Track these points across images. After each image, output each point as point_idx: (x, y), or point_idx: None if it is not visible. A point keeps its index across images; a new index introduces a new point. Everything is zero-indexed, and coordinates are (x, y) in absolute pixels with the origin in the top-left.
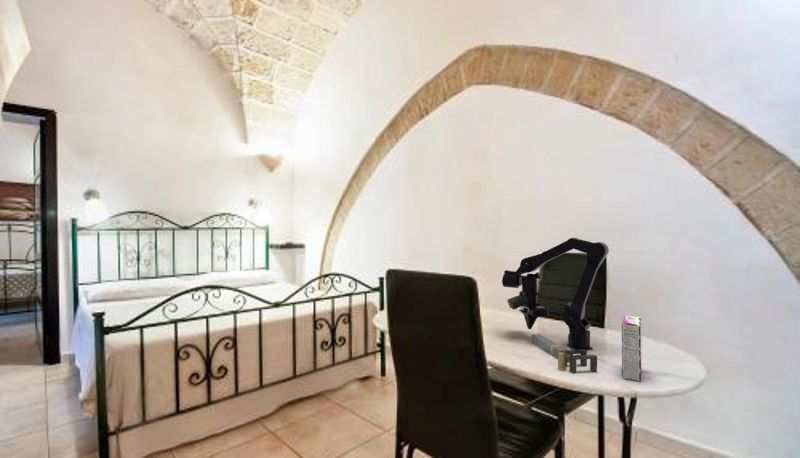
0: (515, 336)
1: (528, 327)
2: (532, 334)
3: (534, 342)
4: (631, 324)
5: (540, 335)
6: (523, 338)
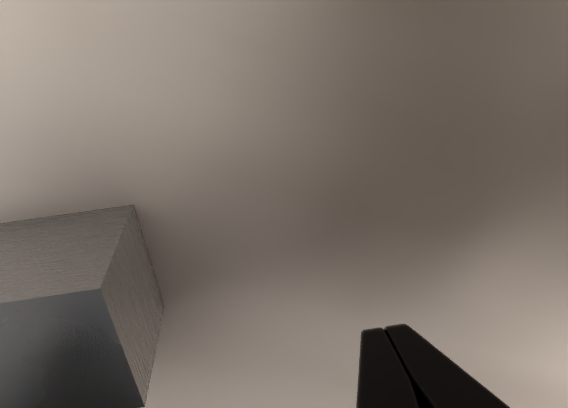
0: (503, 58)
1: (364, 351)
2: (95, 304)
3: (19, 237)
4: None
5: (49, 404)
6: (369, 156)
